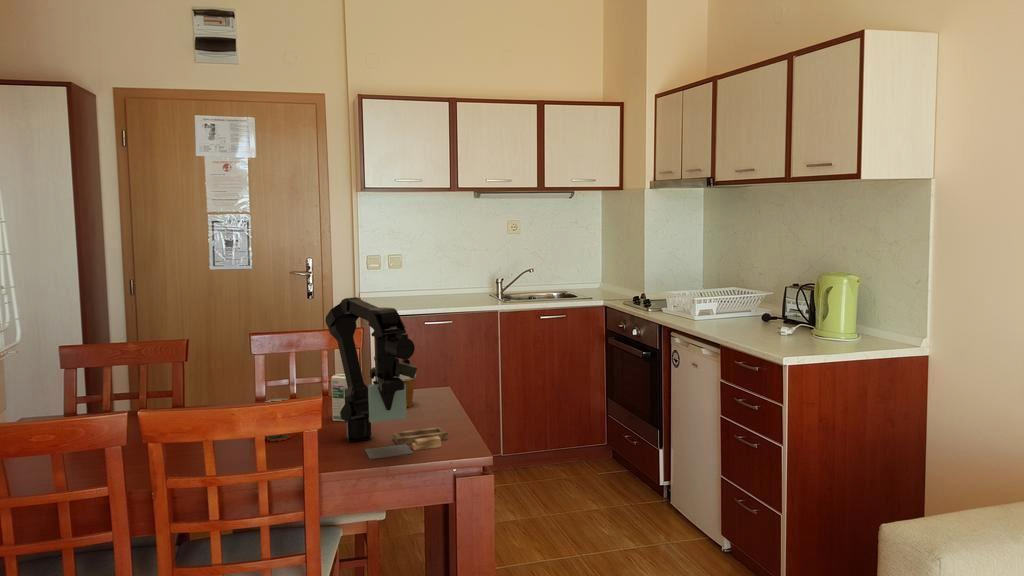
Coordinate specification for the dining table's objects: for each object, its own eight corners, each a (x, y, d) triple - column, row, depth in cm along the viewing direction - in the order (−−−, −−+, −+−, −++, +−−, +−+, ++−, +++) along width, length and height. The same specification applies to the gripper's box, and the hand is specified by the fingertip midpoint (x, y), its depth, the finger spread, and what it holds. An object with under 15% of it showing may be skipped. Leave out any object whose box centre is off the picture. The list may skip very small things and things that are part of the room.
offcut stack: (414, 450, 218) (413, 442, 218) (411, 447, 221) (411, 439, 221) (441, 447, 221) (441, 438, 221) (438, 443, 224) (438, 435, 223)
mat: (369, 459, 211) (369, 458, 211) (365, 450, 219) (364, 449, 218) (412, 453, 215) (412, 452, 215) (406, 445, 223) (406, 444, 223)
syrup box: (332, 421, 248) (330, 376, 246) (340, 415, 253) (338, 372, 252) (348, 422, 246) (346, 377, 245) (356, 416, 252) (354, 373, 250)
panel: (371, 422, 213) (369, 387, 211) (369, 419, 215) (368, 384, 214) (406, 418, 216) (405, 383, 215) (404, 415, 219) (403, 381, 218)
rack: (397, 445, 222) (397, 439, 222) (392, 439, 229) (392, 432, 228) (447, 439, 228) (447, 433, 227) (441, 433, 234) (441, 426, 233)
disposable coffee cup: (391, 402, 269) (390, 368, 268) (418, 402, 269) (417, 368, 268) (386, 409, 260) (385, 375, 259) (414, 409, 260) (413, 375, 258)
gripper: (422, 358, 208) (423, 414, 210) (407, 345, 225) (408, 397, 227) (381, 361, 204) (382, 418, 206) (368, 348, 221) (370, 401, 223)
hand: (387, 408), depth 215 cm, fingers closed on panel, 3 cm apart
